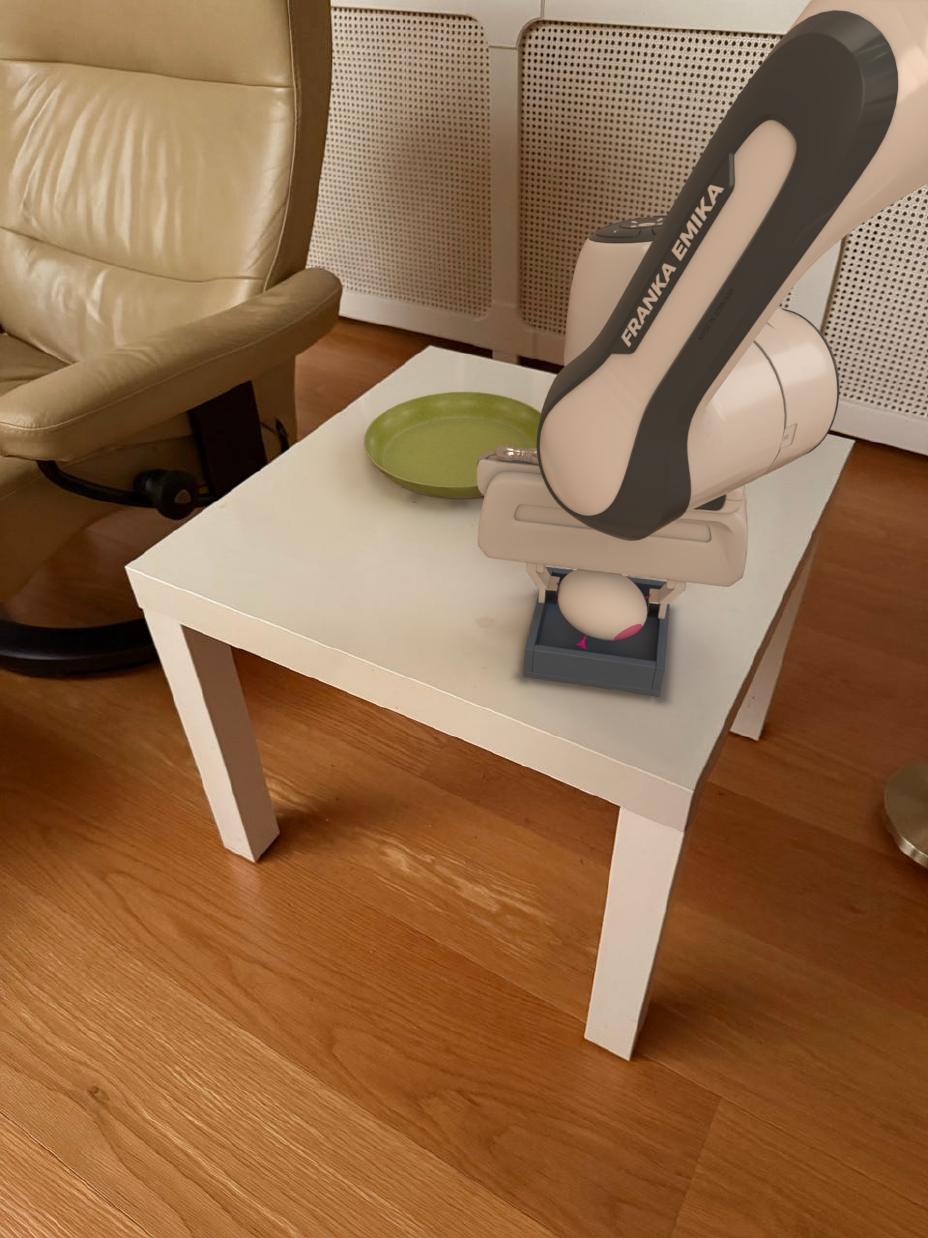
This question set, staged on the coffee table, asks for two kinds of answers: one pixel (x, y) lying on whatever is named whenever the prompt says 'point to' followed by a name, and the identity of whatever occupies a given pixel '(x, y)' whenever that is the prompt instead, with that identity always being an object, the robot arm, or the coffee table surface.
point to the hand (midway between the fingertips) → (601, 606)
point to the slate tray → (597, 649)
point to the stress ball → (602, 604)
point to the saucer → (447, 439)
